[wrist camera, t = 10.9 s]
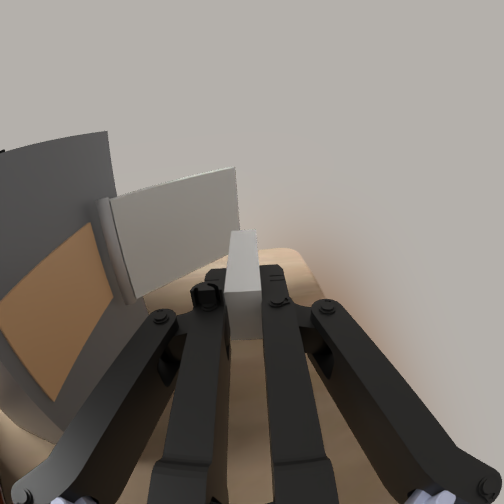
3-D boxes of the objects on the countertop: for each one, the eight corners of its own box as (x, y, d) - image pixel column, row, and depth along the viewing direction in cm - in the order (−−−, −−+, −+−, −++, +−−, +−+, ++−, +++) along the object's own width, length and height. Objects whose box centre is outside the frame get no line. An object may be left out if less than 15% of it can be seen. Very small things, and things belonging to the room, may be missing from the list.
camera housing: (90, 302, 28) (47, 142, 19) (157, 302, 28) (120, 118, 19) (17, 425, 11) (-104, 202, 3) (99, 460, 11) (-73, 154, 3)
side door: (127, 307, 19) (97, 202, 15) (123, 301, 20) (94, 200, 16) (242, 250, 27) (236, 165, 23) (235, 247, 28) (228, 164, 24)
